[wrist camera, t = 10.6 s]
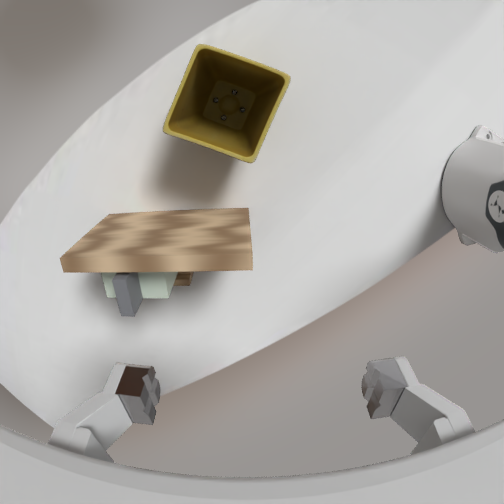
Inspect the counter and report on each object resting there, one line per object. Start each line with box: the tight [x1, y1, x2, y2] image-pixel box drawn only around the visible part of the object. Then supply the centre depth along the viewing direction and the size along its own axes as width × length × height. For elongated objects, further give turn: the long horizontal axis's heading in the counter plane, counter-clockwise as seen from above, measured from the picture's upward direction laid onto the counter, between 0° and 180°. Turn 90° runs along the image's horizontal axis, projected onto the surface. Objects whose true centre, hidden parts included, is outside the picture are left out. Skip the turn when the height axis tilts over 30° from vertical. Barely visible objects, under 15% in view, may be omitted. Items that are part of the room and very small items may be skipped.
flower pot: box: [163, 44, 291, 163], centre depth 28 cm, size 9×9×9 cm
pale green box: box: [101, 272, 178, 317], centre depth 30 cm, size 7×4×9 cm, turn 91°
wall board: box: [60, 208, 253, 286], centre depth 32 cm, size 18×8×13 cm, turn 91°
